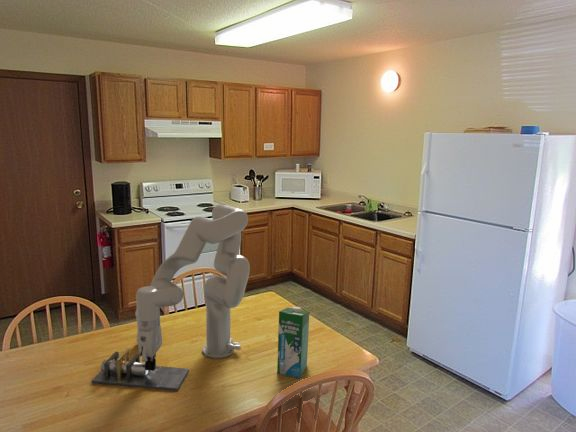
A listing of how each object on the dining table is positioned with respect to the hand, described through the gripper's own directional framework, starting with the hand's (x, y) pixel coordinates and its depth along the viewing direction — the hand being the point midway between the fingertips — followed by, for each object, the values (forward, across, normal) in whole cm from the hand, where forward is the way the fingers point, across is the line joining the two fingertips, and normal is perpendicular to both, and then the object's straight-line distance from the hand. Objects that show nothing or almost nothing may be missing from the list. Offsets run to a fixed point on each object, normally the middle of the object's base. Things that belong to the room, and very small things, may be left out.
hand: (150, 369), depth 150 cm
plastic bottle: (+4, +22, +12) cm, 25 cm away
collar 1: (+2, 0, +14) cm, 15 cm away
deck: (+4, 0, +4) cm, 5 cm away
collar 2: (+3, 0, +7) cm, 7 cm away
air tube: (+2, 0, +10) cm, 10 cm away
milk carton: (+4, +13, -50) cm, 52 cm away
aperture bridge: (+3, 0, +10) cm, 10 cm away
